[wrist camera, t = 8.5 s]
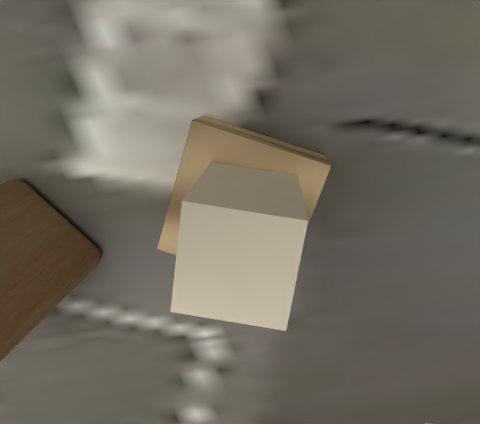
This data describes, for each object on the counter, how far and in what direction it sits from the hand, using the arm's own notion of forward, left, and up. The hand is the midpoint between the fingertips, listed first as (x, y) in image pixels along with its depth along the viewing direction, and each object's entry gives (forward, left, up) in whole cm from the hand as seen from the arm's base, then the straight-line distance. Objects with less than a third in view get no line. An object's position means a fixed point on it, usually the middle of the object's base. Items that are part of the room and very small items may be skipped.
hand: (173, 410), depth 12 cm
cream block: (0, +1, -20) cm, 20 cm away
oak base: (0, 0, -25) cm, 25 cm away
